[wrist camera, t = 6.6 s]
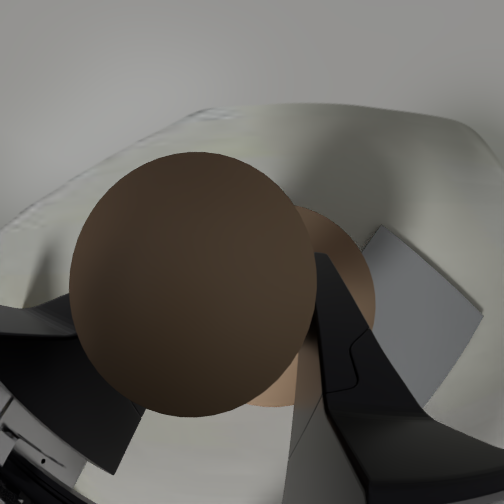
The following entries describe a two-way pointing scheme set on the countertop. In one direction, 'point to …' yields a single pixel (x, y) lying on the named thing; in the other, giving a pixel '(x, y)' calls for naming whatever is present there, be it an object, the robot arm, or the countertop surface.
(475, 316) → the grey rubber mat
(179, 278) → the walnut cover
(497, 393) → the countertop surface
